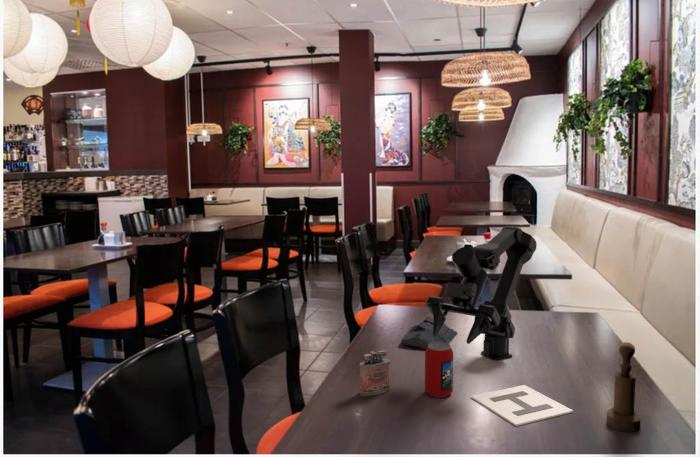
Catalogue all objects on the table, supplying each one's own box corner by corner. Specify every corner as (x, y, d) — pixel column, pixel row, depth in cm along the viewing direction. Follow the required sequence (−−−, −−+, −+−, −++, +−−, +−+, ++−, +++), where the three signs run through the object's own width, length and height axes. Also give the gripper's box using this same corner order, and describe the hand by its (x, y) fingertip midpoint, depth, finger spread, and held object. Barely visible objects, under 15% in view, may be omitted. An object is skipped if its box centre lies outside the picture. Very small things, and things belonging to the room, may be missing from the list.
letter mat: (524, 386, 142) (524, 384, 142) (573, 412, 128) (573, 410, 128) (471, 397, 136) (471, 395, 136) (516, 426, 121) (516, 423, 121)
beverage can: (452, 400, 135) (453, 350, 133) (423, 397, 136) (424, 349, 135) (453, 388, 141) (453, 341, 140) (425, 386, 143) (426, 340, 141)
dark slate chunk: (392, 347, 173) (392, 332, 173) (414, 327, 193) (414, 314, 193) (441, 354, 167) (442, 338, 167) (459, 333, 187) (459, 319, 187)
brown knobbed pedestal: (600, 418, 125) (604, 338, 122) (628, 417, 125) (633, 337, 123) (617, 433, 118) (621, 348, 116) (646, 431, 119) (651, 347, 116)
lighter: (363, 397, 137) (363, 356, 135) (357, 392, 140) (356, 352, 138) (392, 390, 140) (392, 351, 139) (385, 385, 143) (385, 347, 142)
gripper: (429, 265, 150) (406, 315, 142) (496, 274, 138) (475, 329, 131) (443, 289, 157) (422, 338, 149) (508, 299, 145) (489, 353, 138)
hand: (450, 339), depth 142 cm, fingers open, 9 cm apart
